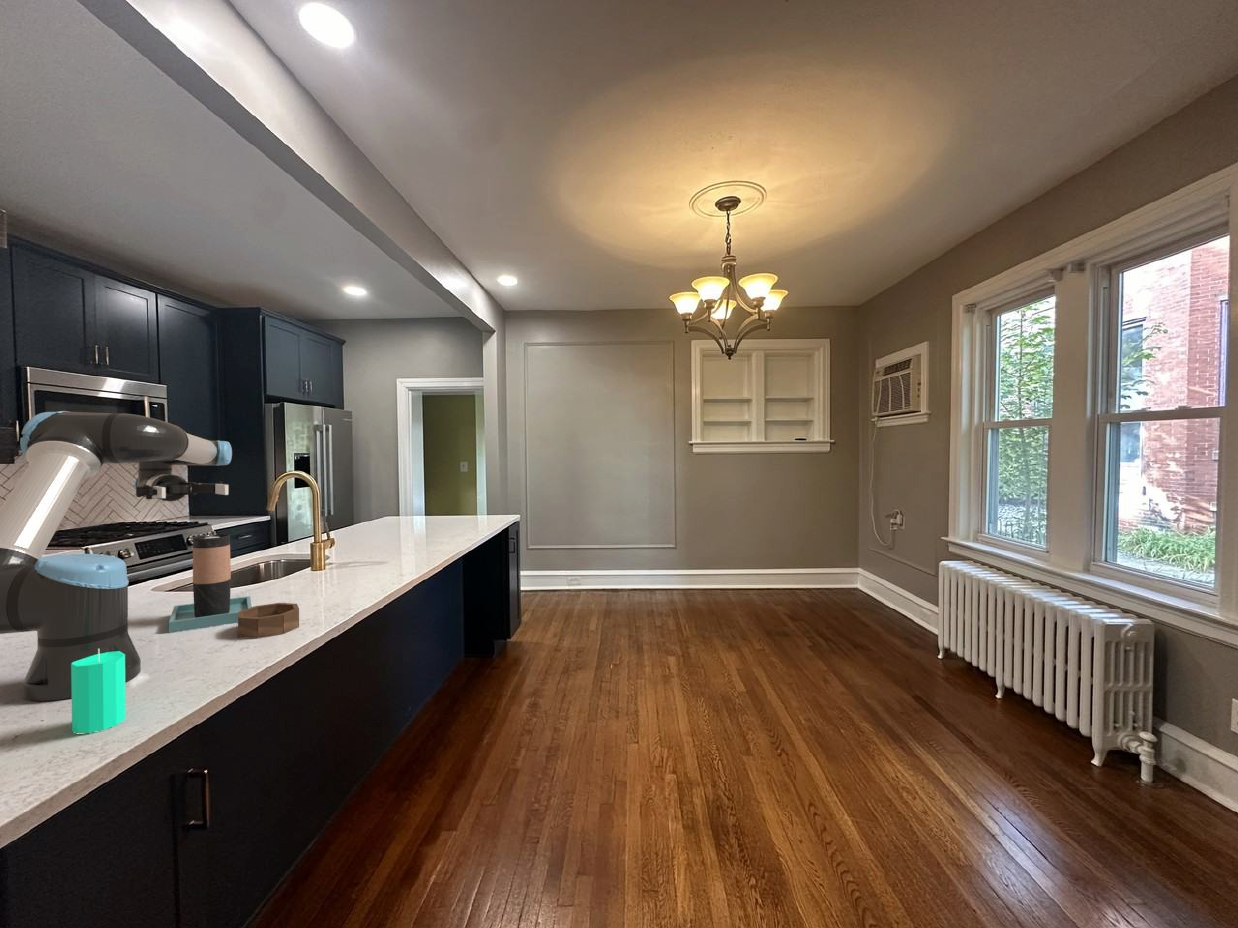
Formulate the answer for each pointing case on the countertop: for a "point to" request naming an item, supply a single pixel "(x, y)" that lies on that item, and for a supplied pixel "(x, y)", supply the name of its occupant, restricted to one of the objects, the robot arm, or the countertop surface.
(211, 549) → the travel mug
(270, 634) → the walnut collar
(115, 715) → the candle
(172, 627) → the slate tray
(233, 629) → the countertop surface
